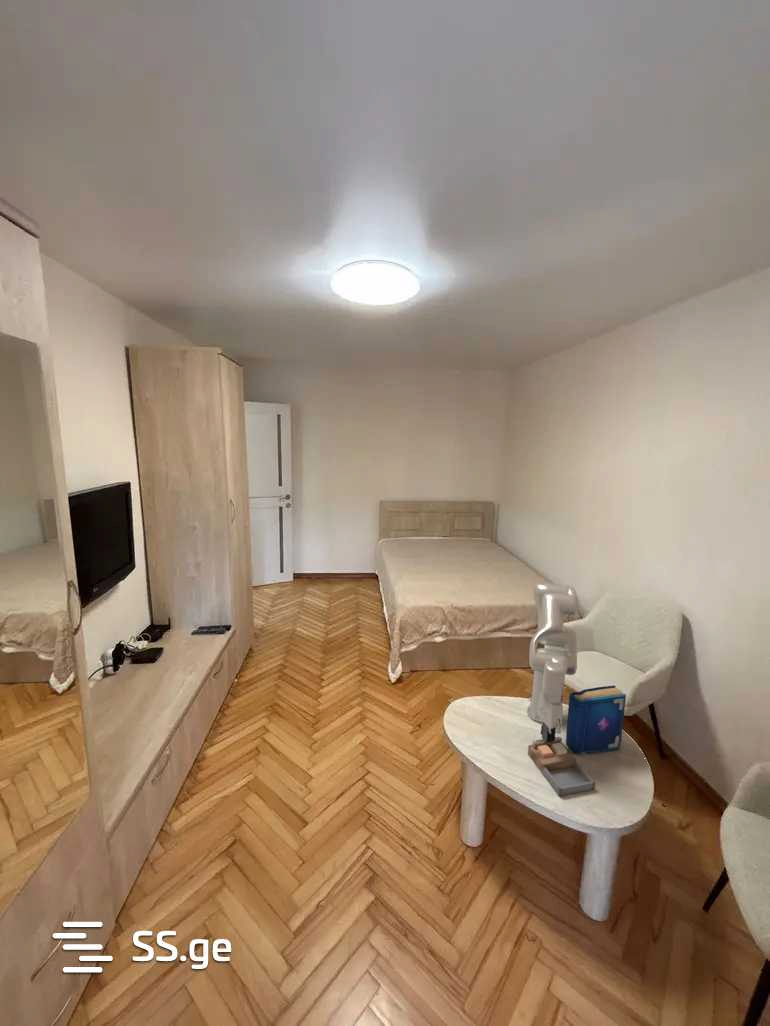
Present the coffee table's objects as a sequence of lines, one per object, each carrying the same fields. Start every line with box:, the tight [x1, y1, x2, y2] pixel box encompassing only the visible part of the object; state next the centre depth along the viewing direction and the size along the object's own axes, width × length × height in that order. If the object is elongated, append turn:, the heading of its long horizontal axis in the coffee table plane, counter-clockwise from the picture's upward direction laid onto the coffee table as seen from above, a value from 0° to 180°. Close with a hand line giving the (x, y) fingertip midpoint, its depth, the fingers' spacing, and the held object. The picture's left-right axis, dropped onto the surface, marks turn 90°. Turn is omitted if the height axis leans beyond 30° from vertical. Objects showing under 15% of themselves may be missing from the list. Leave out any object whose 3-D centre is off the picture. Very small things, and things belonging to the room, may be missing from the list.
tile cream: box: [551, 743, 567, 755], centre depth 162 cm, size 4×4×2 cm
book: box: [565, 685, 627, 755], centre depth 167 cm, size 22×7×25 cm, turn 101°
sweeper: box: [531, 722, 563, 748], centre depth 163 cm, size 3×12×10 cm, turn 103°
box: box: [542, 761, 596, 797], centre depth 152 cm, size 10×14×3 cm
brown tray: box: [527, 742, 578, 775], centre depth 161 cm, size 10×14×4 cm
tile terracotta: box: [537, 745, 553, 757], centre depth 160 cm, size 4×4×2 cm
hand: (547, 737), depth 164 cm, fingers closed on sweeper, 3 cm apart
